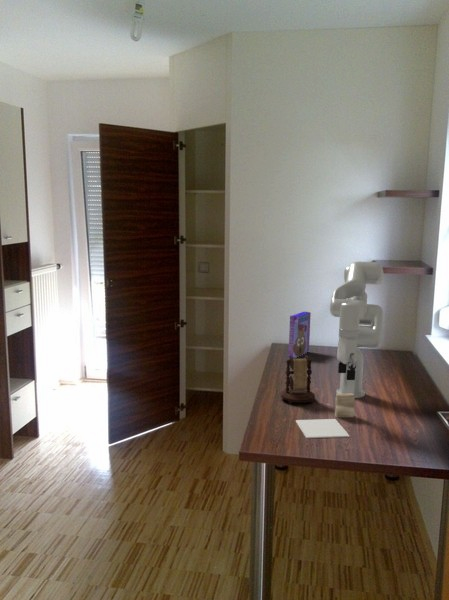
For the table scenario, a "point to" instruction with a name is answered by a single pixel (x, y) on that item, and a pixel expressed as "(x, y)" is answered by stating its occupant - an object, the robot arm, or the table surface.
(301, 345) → the cereal box
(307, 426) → the rubber mat
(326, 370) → the table surface
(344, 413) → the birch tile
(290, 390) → the brown wooden ornament
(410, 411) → the table surface
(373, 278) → the robot arm
